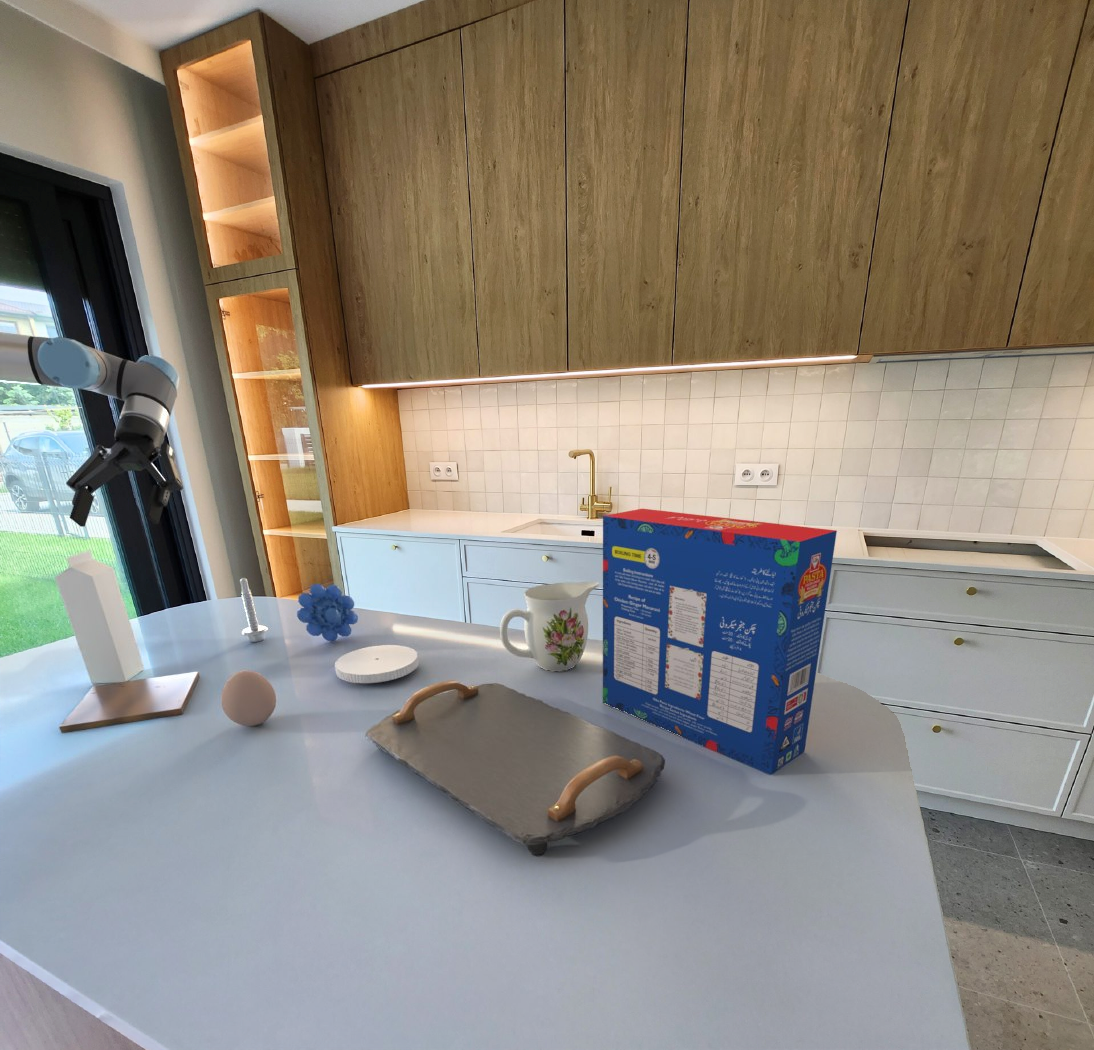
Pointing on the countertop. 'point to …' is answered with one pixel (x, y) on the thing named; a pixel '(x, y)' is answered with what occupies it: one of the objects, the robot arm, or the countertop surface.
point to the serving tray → (517, 760)
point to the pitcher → (552, 624)
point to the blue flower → (327, 612)
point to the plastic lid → (376, 664)
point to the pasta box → (715, 628)
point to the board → (132, 701)
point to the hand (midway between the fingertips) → (114, 521)
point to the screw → (251, 615)
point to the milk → (99, 620)
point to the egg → (248, 698)
